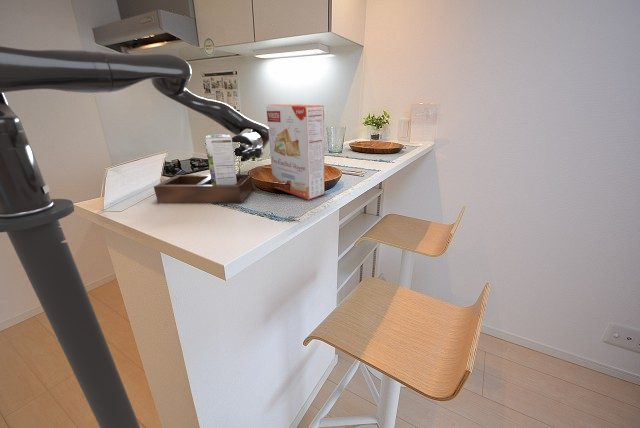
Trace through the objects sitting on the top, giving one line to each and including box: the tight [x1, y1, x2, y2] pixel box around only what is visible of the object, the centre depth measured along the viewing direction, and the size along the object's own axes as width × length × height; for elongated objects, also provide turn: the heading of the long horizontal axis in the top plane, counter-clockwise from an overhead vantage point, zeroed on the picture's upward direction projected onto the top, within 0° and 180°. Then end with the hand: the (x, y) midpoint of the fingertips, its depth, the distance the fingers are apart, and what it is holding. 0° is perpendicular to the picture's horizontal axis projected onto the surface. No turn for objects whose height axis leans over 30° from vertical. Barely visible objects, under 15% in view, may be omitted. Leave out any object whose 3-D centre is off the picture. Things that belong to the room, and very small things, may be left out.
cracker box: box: [265, 103, 326, 201], centre depth 69 cm, size 14×6×21 cm, turn 45°
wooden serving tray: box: [153, 174, 254, 204], centre depth 70 cm, size 20×11×4 cm, turn 88°
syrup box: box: [205, 133, 237, 185], centre depth 68 cm, size 6×6×14 cm
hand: (226, 156), depth 71 cm, fingers open, 8 cm apart
